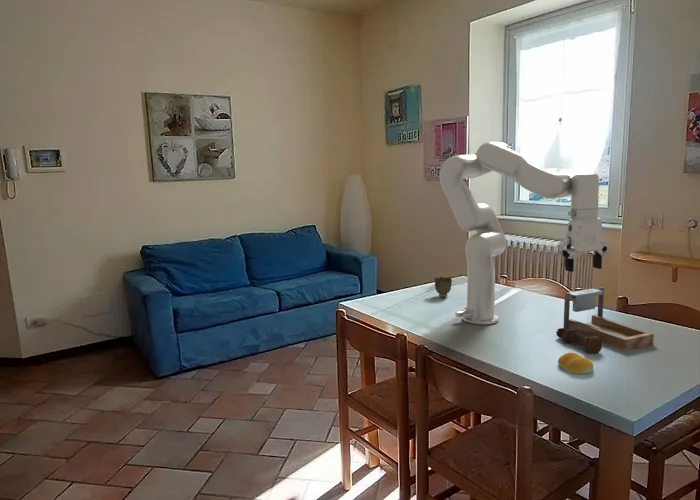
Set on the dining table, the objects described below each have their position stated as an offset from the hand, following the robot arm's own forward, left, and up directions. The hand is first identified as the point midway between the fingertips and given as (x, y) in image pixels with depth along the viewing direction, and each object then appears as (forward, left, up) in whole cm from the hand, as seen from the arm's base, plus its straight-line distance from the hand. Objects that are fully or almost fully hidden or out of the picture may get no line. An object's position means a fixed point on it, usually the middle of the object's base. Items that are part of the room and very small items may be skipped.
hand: (583, 269), depth 158 cm
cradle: (+10, -2, -23) cm, 25 cm away
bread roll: (-18, -16, -23) cm, 33 cm away
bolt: (-4, -3, -23) cm, 24 cm away
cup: (-10, +64, -23) cm, 69 cm away
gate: (+10, +8, -17) cm, 21 cm away
